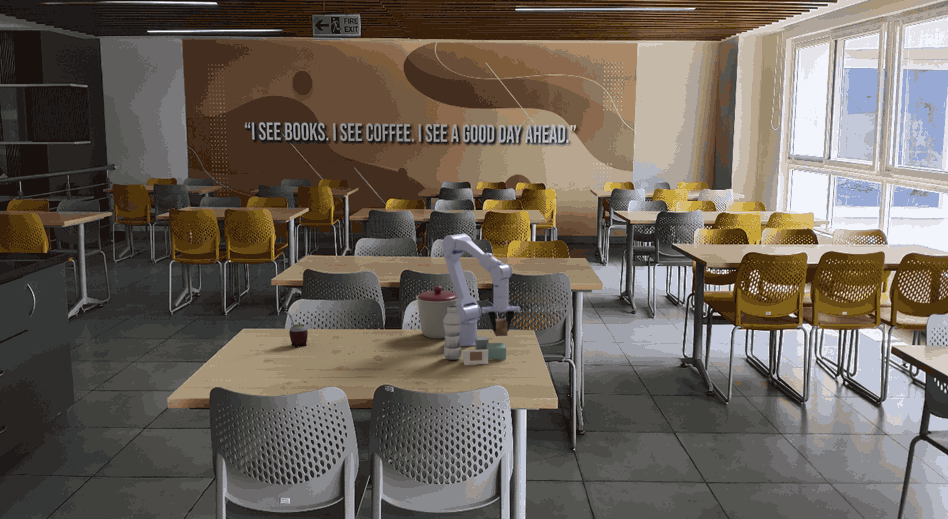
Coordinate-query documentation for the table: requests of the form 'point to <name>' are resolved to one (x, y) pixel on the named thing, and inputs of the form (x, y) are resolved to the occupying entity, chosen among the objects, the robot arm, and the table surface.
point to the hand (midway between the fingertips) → (500, 330)
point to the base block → (496, 350)
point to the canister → (434, 311)
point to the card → (475, 357)
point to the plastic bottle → (452, 334)
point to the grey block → (480, 343)
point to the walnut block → (501, 327)
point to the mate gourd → (298, 334)
